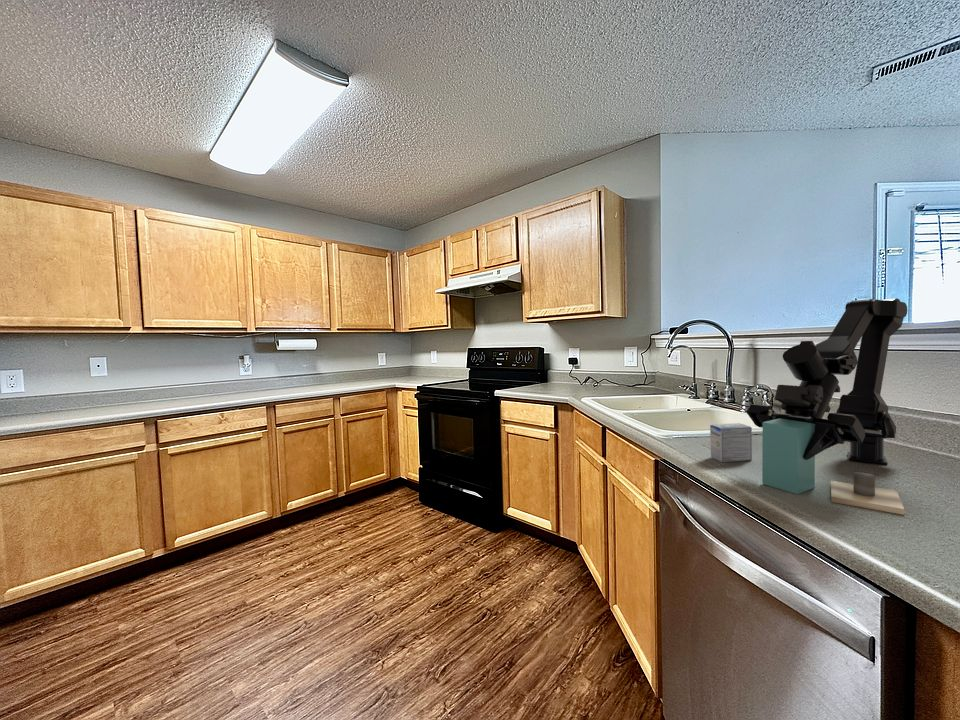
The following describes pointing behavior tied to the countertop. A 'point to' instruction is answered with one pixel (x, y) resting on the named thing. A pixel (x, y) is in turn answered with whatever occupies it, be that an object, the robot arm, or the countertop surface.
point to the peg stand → (866, 494)
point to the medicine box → (731, 442)
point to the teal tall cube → (787, 455)
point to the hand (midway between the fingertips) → (784, 454)
